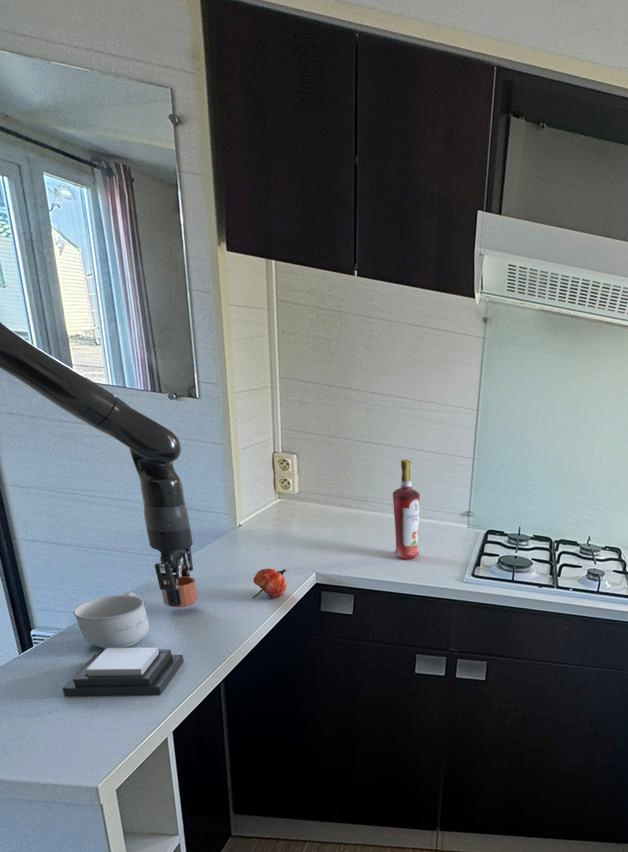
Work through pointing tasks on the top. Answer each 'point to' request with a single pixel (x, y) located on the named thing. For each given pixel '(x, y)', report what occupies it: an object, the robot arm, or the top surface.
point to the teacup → (113, 620)
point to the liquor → (406, 515)
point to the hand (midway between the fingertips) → (180, 598)
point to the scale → (126, 679)
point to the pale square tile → (123, 662)
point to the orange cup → (184, 592)
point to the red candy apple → (271, 582)
